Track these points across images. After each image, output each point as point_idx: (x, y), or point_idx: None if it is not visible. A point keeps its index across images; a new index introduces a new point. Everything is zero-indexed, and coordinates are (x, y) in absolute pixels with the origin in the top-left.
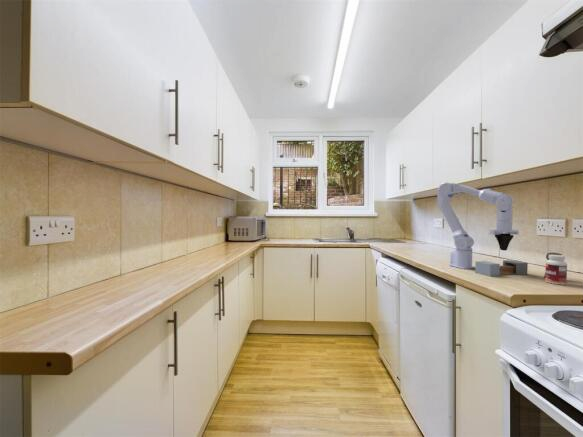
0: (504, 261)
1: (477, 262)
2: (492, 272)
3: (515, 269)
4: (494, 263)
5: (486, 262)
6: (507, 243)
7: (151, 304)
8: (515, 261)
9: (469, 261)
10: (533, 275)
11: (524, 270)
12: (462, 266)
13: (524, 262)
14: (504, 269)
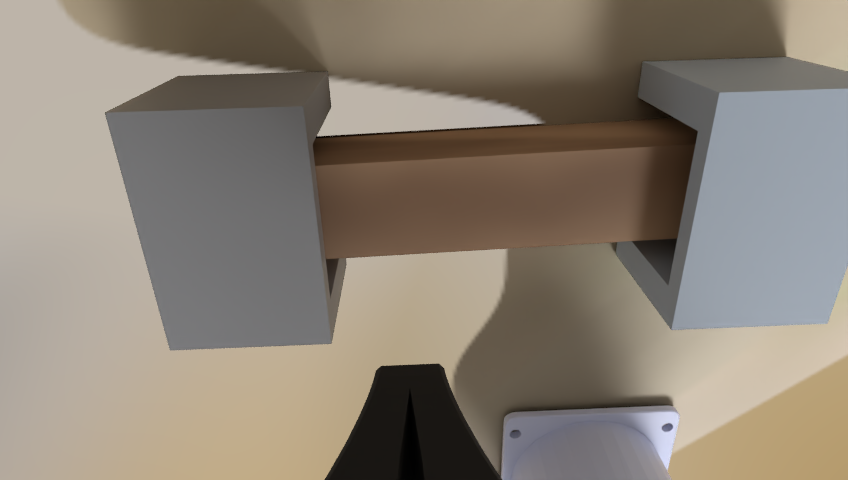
0: (329, 317)
1: (828, 290)
2: (780, 64)
3: None
4: (752, 143)
5: (777, 231)
6: (396, 472)
7: None
8: (206, 252)
9: (617, 474)
10: (140, 10)
11: (210, 86)
12: (653, 445)
13: (125, 158)
14: (493, 145)
